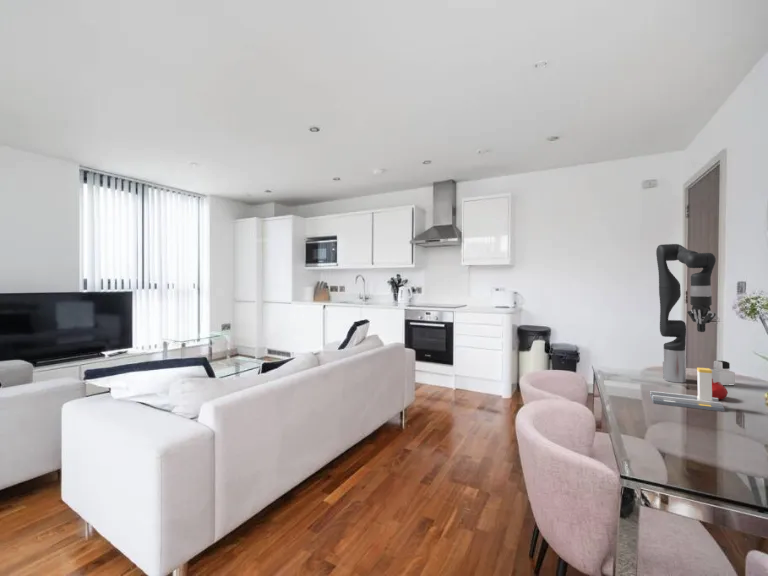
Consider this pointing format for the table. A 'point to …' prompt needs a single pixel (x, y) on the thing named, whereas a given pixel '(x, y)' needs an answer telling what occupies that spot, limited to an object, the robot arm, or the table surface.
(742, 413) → the table surface
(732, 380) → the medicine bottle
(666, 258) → the robot arm
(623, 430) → the table surface
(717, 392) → the red round fruit
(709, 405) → the switch plate
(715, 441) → the table surface
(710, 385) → the switch tab
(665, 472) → the table surface
